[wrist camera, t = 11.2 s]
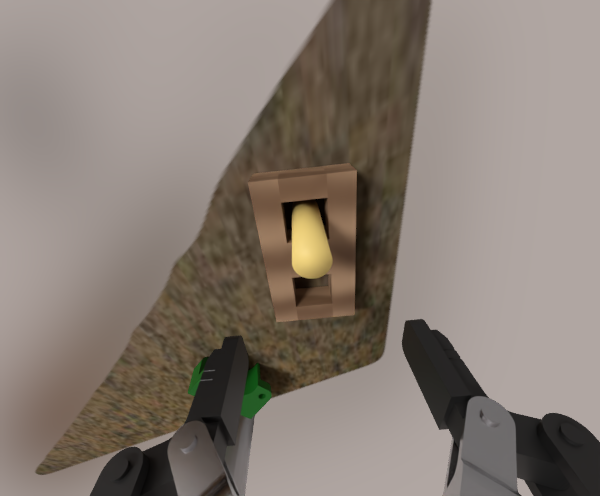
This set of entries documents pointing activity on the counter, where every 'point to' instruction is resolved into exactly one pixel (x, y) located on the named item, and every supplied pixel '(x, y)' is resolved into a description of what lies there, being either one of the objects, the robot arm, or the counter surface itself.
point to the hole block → (278, 239)
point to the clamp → (254, 391)
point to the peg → (309, 241)
